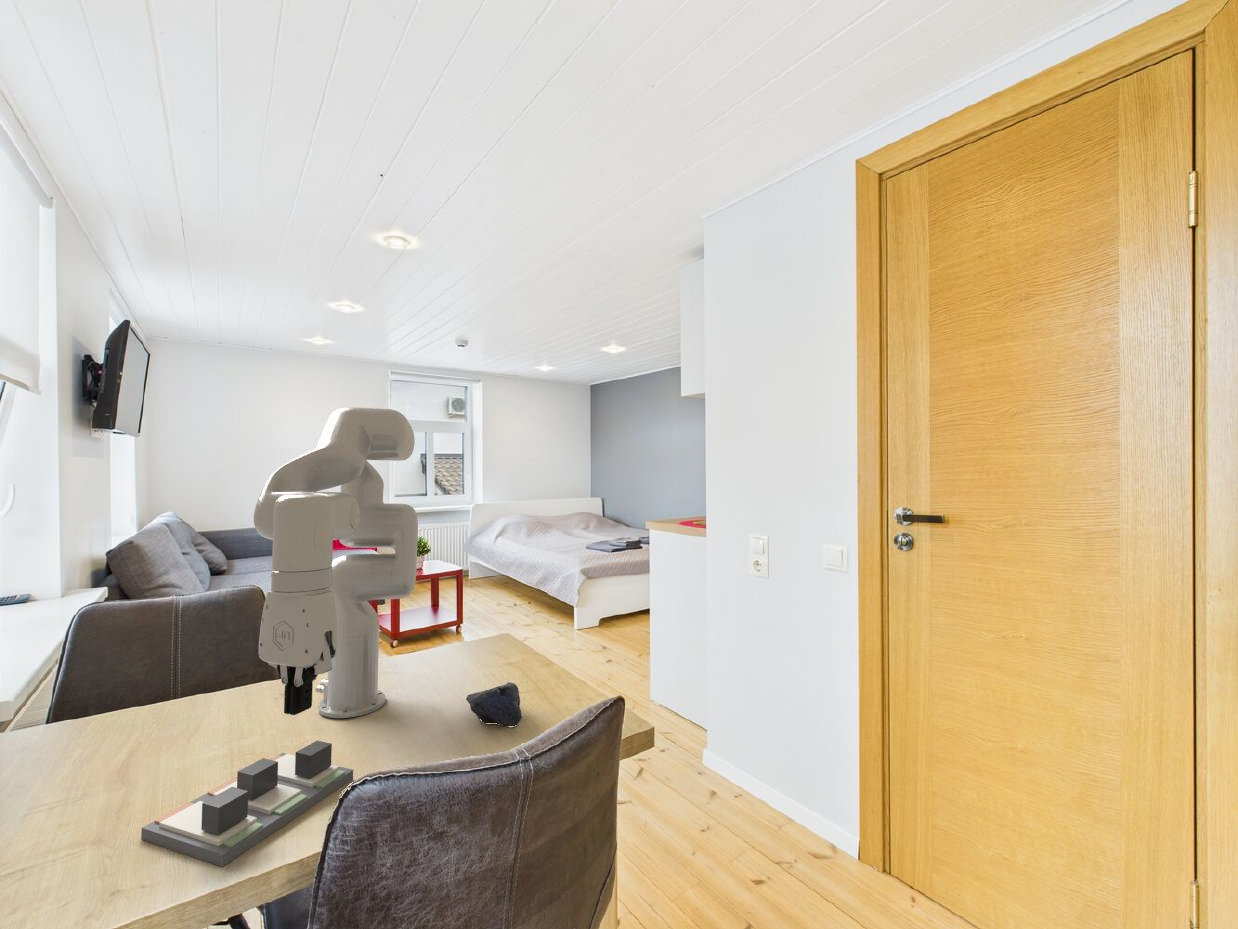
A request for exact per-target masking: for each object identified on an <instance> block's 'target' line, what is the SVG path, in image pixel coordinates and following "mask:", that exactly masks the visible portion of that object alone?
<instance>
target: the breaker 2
mask: <svg viewBox="0 0 1238 929" xmlns="http://www.w3.org/2000/svg"><path fill="white" fill-rule="evenodd" d="M332 745H333V743H330V742H326V741H321V740H316V741H314V742H312V743H310V744H308V745H306V746H305V747H303V748H301V749H299V750H297V751H295V755H294V756H295V775H297V776H301V777H305V778H309V779H310V778H312V777H314V776H315V775H317V774H319V773H320V772H322V771H324V770H325V769H327V768H328V767H330V766H331V764H332V749H333V746H332Z"/></svg>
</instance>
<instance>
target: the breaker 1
mask: <svg viewBox="0 0 1238 929" xmlns="http://www.w3.org/2000/svg"><path fill="white" fill-rule="evenodd" d="M247 817H248V791H246V790H242V789H239V788H235V787H231V788H229V789H227V790H225V791H223V792H222V793H220V794H218V795H216V796H214V797H212V798H211V799H209V800H207V801H205V802H203V803H202V826H201V830H203V831H206V832H209V833H212V834H215V835H219V834H221V833H222V832H224V831H226V830H227V829H229V828H231V827H232V826H234V825H236V824H237V823H239V822H240V821H242V820H244V819H245V818H247Z"/></svg>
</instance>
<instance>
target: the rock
mask: <svg viewBox="0 0 1238 929" xmlns="http://www.w3.org/2000/svg"><path fill="white" fill-rule="evenodd" d="M465 700H466V701H467V703H468V704H469V709H470V711H471V712H472V713H474V714H475V716H476V717H477V718H478V720H479V719H481V720H482V721H481V722H482V723H483V722H484V723H497V724H500V725H501V726H503V727H506V726H515V725H517V724H518V725H519V723H520V722H521V720H522V718H523V714H522V710H521V707H520V705H521V697H520V692H519V688H518V685H517V684H515V683H514V682H510V681H508V682H507V683H505V684H503V685H499V686H496V687H493V688H490V689H485V690H482V691H477V692H475V693H471V694H470V693H469V694H467V696H466V698H465ZM484 723H483V724H484ZM518 725H517V726H518Z"/></svg>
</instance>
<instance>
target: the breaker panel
mask: <svg viewBox="0 0 1238 929" xmlns="http://www.w3.org/2000/svg"><path fill="white" fill-rule="evenodd" d="M295 756H296V755H294V754H293V755H292V754H290V753H285V752H282V753H280V754H278V755H274V756H273V757H271V758H269V760H273V761H277V762H278V783H277V786H275V787H274V788H272V789H270V790H269V791H267V792H265V793H264V794H262V795H260V796H258V797H257V798H255V799H253V800H249V799H248V817H247V818H245V819H244V820H242V821H240V822H239V823H237V824H236V825H234V826H232V827H231V828H229V829H227V830H226V831H224V832H222V833H221V834H219V835H215V834H212V833H209V832H206V831H203V830H201V826H202V803H203V802H205V801H207V800H209V799H211V798H212V797H214V796H216V795H218V794H220V793H222V792H223V791H225V790H227V789H229V788H231V787H235V788H237V776H235V777H234V778H231V779H230V780H228V781H226V782H224V783H222V784H220V785H219V786H217V787H215V788H213V789H211V790H210V791H207V792H205V793H204V794H203V795H201V796H199V797H197V798H195V799H193V800H191V801H190V802H187V803H185V804H183V805H181V806H179V807H177V808H175V809H173V810H172V811H169V812H168V813H166V814H164V815H162V816H160V817H158V818H157V819H155V820H153V821H152V822H150V823H148V824H146V825H144V826H142V827H141V832H140V834H141V837H140V839H141V840H143V841H146V842H148V843H151V844H155V845H157V846H160V847H164V848H166V849H169V850H172V851H175V852H178V853H180V854H184V855H187V856H189V857H192V858H196V859H198V860H201V861H204V862H207V863H210V864H213V865H216V866H219V867H221V868H223V867H224V866H226V865H228V864H230V862H232V861H234V860H235V859H236V858H238V857H239V856H241V855H243V854H244V853H245V852H247V851H249V850H250V849H251V848H253V847H254V846H256V845H257V844H259V843H260V842H262V841H263V840H265V839H267V838H268V837H269V836H271V835H272V834H274V833H275V832H277V831H278V830H280V829H281V828H283V827H284V826H285V825H287V824H289V823H290V822H292V821H293V820H294V819H296V818H297V817H299V816H300V815H302V814H303V813H305V812H306V811H308V810H309V809H311V808H312V807H314V806H315V805H316V804H319V803H320V802H322V801H323V800H324V799H325V798H327V797H328V796H330V795H332V794H333V793H335V792H336V791H338V790H339V789H341V788H342V787H343V786H345V785H347V784H348V783H349V782H351V781H352V780H354V769H351V768H347V767H344V766H339V765H336V764H332V763H331V766H330V767H328V768H327V769H325V770H324V771H322V772H320V773H319V774H317V775H315V776H314V777H312V778H310V779H309V778H305V777H301V776H297V775H295Z"/></svg>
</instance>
